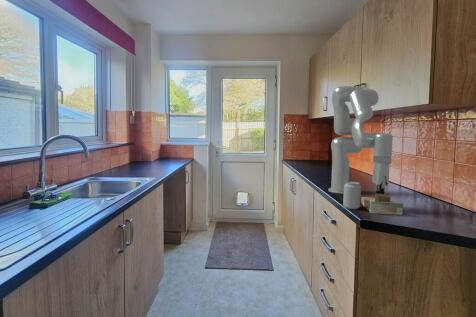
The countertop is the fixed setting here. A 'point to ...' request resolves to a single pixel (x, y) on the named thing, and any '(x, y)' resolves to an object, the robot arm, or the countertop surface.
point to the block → (382, 198)
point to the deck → (382, 206)
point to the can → (352, 195)
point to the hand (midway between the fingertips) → (379, 199)
